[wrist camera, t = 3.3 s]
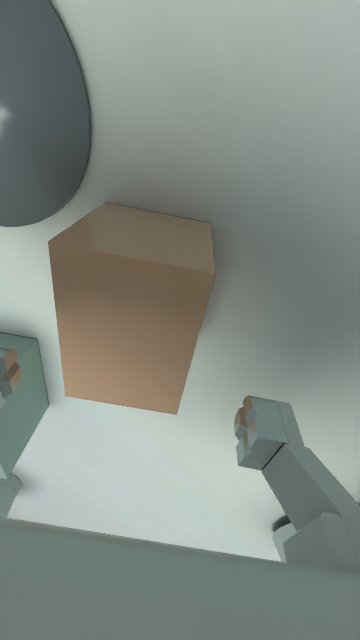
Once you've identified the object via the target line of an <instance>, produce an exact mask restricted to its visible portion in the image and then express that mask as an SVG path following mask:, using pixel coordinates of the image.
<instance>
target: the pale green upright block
mask: <svg viewBox="0 0 360 640" xmlns="http://www.w3.org/2000/svg"><path fill="white" fill-rule="evenodd" d="M0 347H4V348H8V349H13V350H16V351H17V354H18V359H17V360H16V361H15V362H16V363H17V364H18V365H19V366H20V367H21V379H20V381H19V384H18V386H17V388H16V389H15V391H14V392H13V393H12V394H10V395H8V396H6V397H4V401H5V404H4V406H3V407H2V408H1V410H0V478H3V479H7V478H8V477H9V475H10V473H11V471H12V470H13V468H14V466H15V464H16V463H17V461H18V459H19V457H20V455H21V454H22V452H23V450H24V448H25V447H26V445H27V443H28V441H29V440H30V438H31V436H32V434H33V433H34V431H35V429H36V427H37V426H38V424H39V422H40V420H41V419H42V417H43V415H44V413H45V412H46V410H47V408H48V406H49V403H48V398H47V392H46V386H45V380H44V374H43V369H42V363H41V357H40V351H39V345H38V340H37V339H33V338H27V337H21V336H16V335H10V334H4V333H0Z"/></svg>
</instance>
